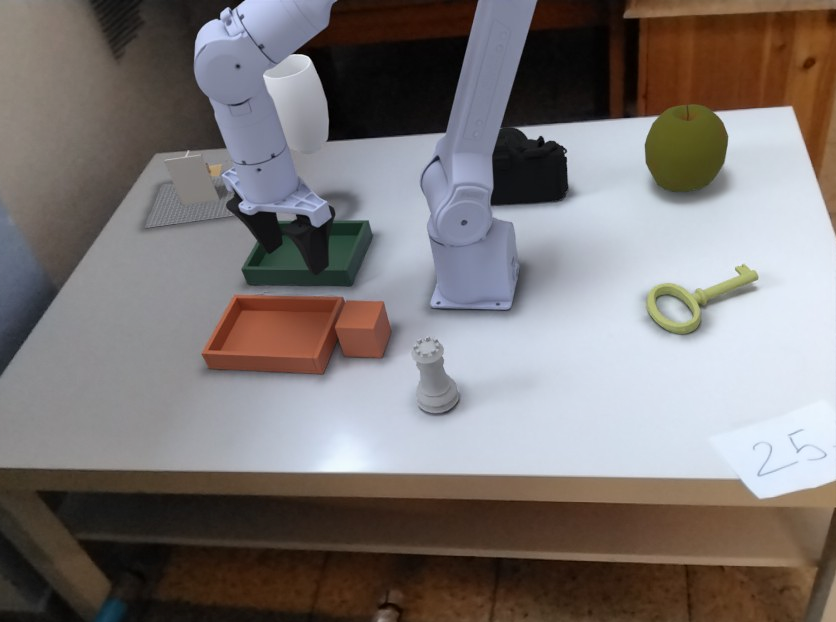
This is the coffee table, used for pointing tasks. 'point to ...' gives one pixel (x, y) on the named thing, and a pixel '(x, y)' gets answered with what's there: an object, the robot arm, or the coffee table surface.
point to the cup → (299, 103)
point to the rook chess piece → (433, 377)
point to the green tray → (291, 268)
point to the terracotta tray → (275, 334)
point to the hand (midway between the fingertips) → (297, 258)
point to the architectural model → (190, 193)
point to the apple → (686, 148)
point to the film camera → (527, 169)
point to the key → (695, 299)
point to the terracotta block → (363, 328)
